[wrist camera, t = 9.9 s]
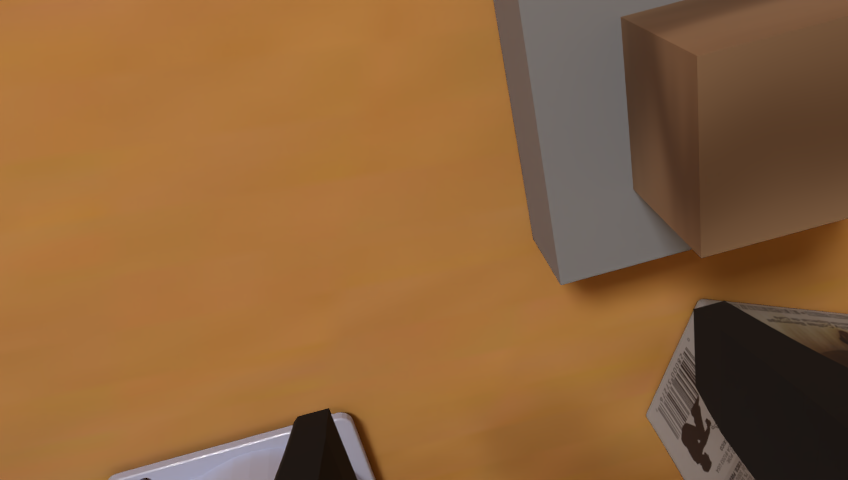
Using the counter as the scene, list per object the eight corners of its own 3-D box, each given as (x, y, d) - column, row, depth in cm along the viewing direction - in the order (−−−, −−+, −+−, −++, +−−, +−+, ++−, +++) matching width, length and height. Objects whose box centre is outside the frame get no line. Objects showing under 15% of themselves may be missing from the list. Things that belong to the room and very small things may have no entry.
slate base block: (533, 238, 24) (560, 285, 21) (482, -68, 19) (509, -57, 16) (809, 163, 24) (870, 200, 22) (830, -160, 19) (912, -163, 17)
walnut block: (620, 17, 18) (697, 56, 14) (808, -33, 18) (929, -6, 14) (633, 189, 20) (701, 258, 17) (798, 144, 20) (899, 204, 17)
